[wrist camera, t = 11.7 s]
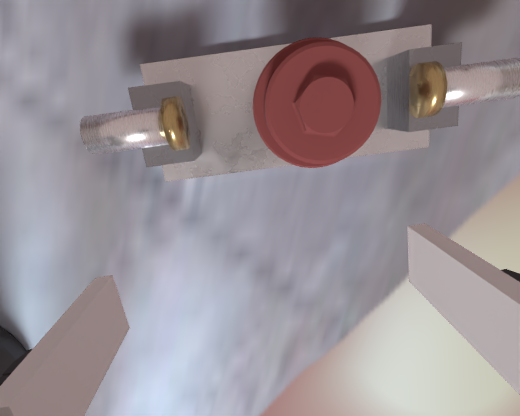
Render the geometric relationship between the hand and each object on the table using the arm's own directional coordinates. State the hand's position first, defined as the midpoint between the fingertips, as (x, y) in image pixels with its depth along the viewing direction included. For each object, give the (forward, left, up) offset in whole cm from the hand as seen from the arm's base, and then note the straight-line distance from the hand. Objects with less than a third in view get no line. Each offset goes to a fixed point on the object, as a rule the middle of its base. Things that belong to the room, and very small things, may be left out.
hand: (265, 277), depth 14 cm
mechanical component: (+5, +7, -23) cm, 24 cm away
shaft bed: (+4, +7, -24) cm, 25 cm away
